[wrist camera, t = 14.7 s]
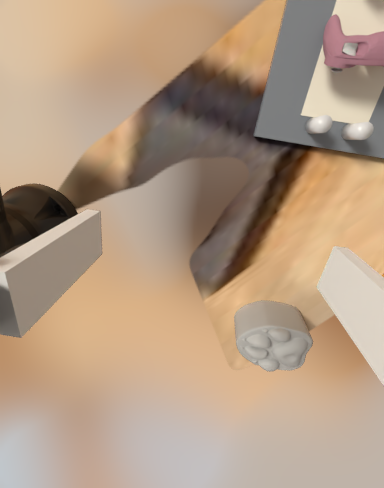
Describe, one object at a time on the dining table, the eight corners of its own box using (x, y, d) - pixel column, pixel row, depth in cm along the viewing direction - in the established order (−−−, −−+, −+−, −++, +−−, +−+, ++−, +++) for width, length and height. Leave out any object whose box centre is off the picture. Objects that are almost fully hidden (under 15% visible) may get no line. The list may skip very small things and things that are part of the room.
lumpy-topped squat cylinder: (289, 344, 51) (301, 381, 43) (229, 333, 52) (231, 368, 44) (304, 306, 47) (321, 340, 39) (239, 295, 47) (243, 326, 39)
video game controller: (311, 61, 31) (324, 78, 27) (326, 12, 27) (343, 24, 23) (391, 61, 30) (418, 79, 26) (417, 11, 26) (453, 23, 22)
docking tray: (253, 136, 35) (258, 135, 30) (300, -55, 27) (316, -97, 22) (388, 159, 34) (414, 162, 30) (480, -30, 26) (538, -67, 21)
